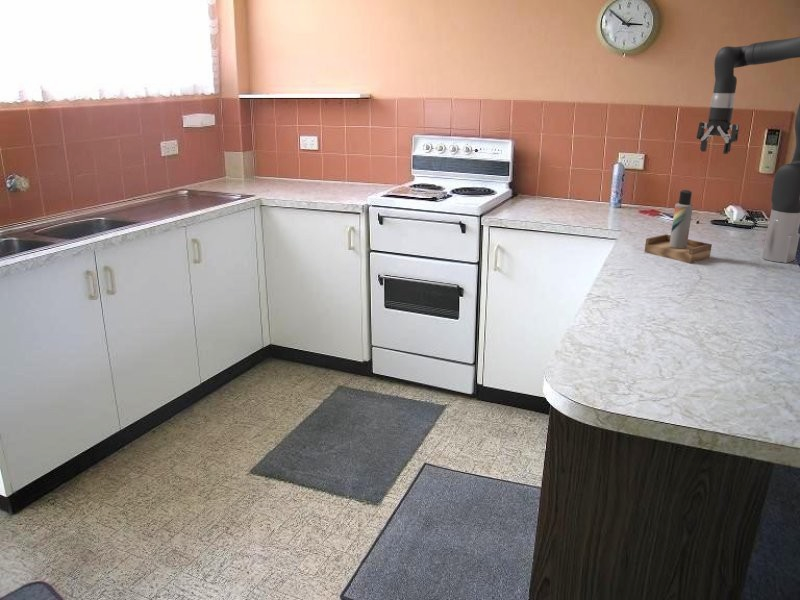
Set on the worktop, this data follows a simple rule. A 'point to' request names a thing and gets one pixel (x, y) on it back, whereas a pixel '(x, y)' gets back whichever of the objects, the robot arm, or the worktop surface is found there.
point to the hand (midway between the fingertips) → (714, 152)
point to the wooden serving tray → (689, 254)
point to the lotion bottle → (681, 220)
